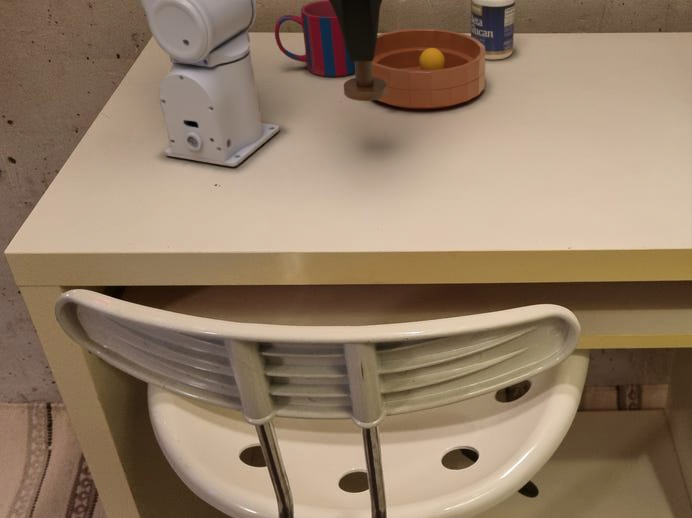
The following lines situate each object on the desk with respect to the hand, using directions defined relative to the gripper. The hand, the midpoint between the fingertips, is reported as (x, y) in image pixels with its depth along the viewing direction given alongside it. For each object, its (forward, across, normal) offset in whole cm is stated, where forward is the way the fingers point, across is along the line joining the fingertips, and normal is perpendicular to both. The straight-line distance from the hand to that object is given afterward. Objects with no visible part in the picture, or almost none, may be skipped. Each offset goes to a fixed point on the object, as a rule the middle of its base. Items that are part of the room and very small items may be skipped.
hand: (362, 55), depth 77 cm
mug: (+10, +26, +8) cm, 29 cm away
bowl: (+10, +19, -5) cm, 22 cm away
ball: (+8, +22, -6) cm, 24 cm away
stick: (+3, 0, 0) cm, 3 cm away
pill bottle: (+10, +31, -13) cm, 35 cm away
